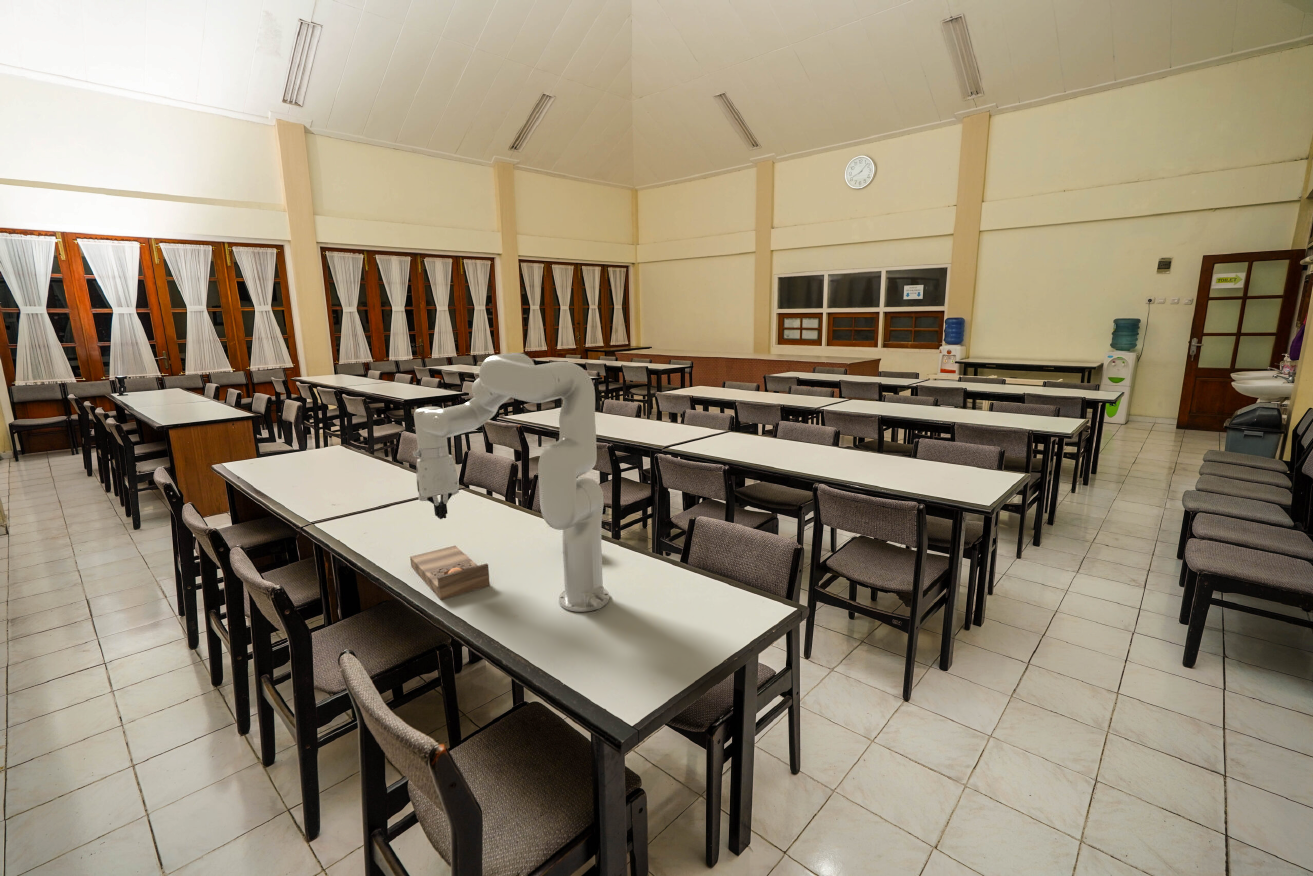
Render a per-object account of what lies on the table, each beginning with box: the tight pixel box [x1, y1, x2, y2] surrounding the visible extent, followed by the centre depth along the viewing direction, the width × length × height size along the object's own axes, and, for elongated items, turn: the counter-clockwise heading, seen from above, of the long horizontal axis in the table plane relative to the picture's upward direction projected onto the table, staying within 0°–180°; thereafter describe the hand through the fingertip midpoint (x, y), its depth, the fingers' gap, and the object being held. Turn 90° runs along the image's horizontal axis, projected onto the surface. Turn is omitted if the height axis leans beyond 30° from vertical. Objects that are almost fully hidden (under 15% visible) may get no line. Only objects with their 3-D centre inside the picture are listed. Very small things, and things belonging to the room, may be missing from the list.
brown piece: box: [409, 545, 491, 601], centre depth 164 cm, size 26×13×6 cm, turn 37°
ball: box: [448, 568, 462, 574], centre depth 160 cm, size 4×4×4 cm
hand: (441, 517), depth 164 cm, fingers closed
